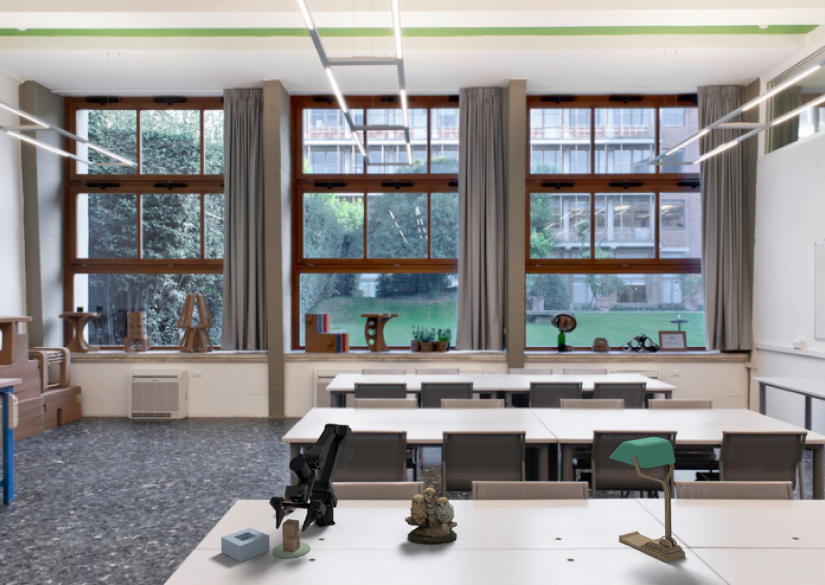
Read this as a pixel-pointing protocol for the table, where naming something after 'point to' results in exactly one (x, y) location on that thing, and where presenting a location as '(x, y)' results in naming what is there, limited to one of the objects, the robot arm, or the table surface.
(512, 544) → the table surface
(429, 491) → the owl figurine
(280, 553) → the sage-green mat
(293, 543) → the walnut peg
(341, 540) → the table surface
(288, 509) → the tin
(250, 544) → the slate-blue holder
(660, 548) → the banker's lamp
